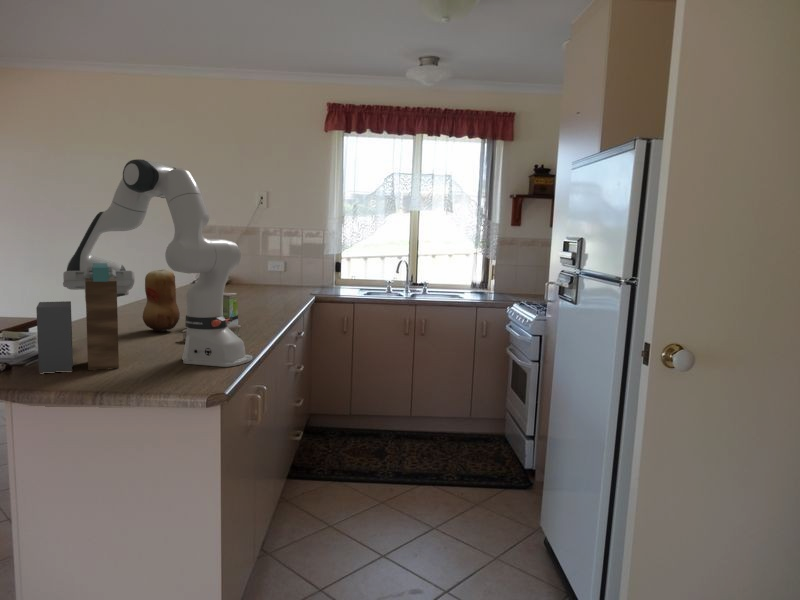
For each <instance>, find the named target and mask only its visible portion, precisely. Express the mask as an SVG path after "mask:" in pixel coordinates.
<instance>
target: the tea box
mask: <svg viewBox="0 0 800 600" xmlns="http://www.w3.org/2000/svg"><path fill="white" fill-rule="evenodd" d="M223 315H224V317H225V319H229V318H230V319H229V320H228V321H230V322H227V324H238V325H239V293H238V292H224V293H223Z"/></svg>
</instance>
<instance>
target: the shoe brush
mask: <svg viewBox="0 0 800 600" xmlns="http://www.w3.org/2000/svg"><path fill="white" fill-rule="evenodd" d="M227 325H228V326H227V327H228V328H229V329H230V330H231V331H232V332H233V333H234V334H235V335H237V336H240V335H241V336H242V333H241V330H240V328H242V326H241V324H239V323H238V324H227ZM186 332H187V328H185V329H183V330H182V331H181V333H183V334H182V342H183V343H185V341H186ZM241 336H240V337H241Z"/></svg>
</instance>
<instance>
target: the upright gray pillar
mask: <svg viewBox="0 0 800 600" xmlns="http://www.w3.org/2000/svg"><path fill="white" fill-rule="evenodd" d="M35 310H36V326H37V327H36V329H37V330H36V331H37V350H38V351H37V353H38V356H37V357H38V374H39V373H43V372H56V371H72V372H73V369H72V367H74V353H73V328H72V327H73V324H72V320H73V319H72V302H71V301H70V300H69V301H67V300H66V301H64V300H63V301H39V302H38V303H37V305H36V309H35Z"/></svg>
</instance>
